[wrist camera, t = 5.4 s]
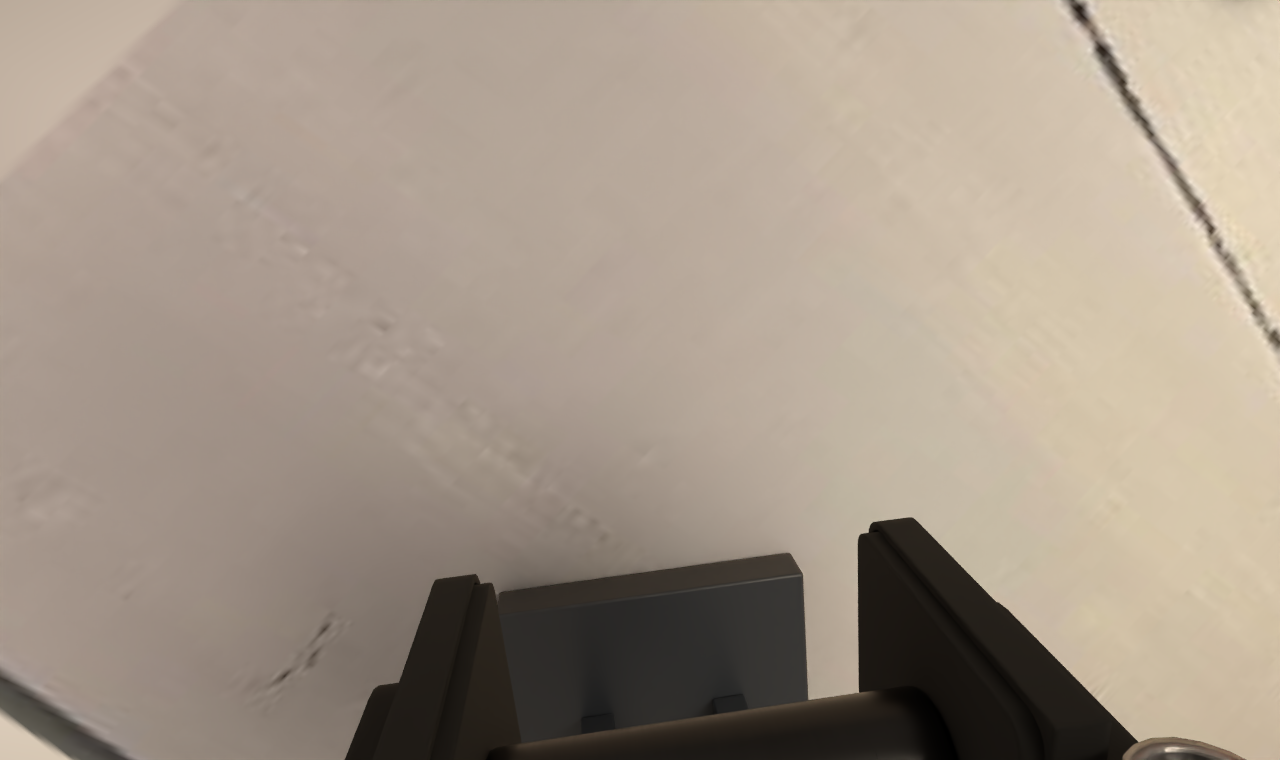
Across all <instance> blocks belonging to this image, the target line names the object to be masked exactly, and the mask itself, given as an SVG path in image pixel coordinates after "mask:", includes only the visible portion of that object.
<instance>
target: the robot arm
mask: <svg viewBox="0 0 1280 760" xmlns="http://www.w3.org/2000/svg"><path fill="white" fill-rule="evenodd" d="M858 642H859V693H861V692H868V691H875V690H881V689H888V688H895V687H901V686H913V687H917V688H919V689H921V690H922V691H923V692H924V693H925V694H926V695H927V696H928V697H929V698H930V700H931V701H932V703H933V704H934V706H935V707H936V709H937V710H938V712H939V714H940V716H941V718H942V720H943V722H944V724H945V726H946V729H947V731H948V733H949V736H950V738H951V741H952V744H953V747H954V750H955V753H956V757H957V760H1246V759H1244V758H1242V757H1240V756H1238V755H1236V754H1234V753H1232V752H1230V751H1227V750H1224V749H1221V748H1218V747H1215V746H1212V745H1210V744H1207V743H1204V742H1200V741H1194V740H1188V739H1182V738H1177V737H1165V738H1150V739H1147V740H1144V741H1141V742H1138V741H1137V740H1136V739H1135V738H1134V737H1133V736H1132V735H1131V734H1130V733H1129V732H1128V731H1127V730H1126V729H1125V728H1124V727H1123V726H1122V725H1121V724H1120V723H1119V722H1118V721H1117V720H1116V719H1115V718H1114V717H1113V716H1112V715H1111V714H1110V713H1109V712H1108V711H1107V710H1106V709H1105V708H1104V707H1103V706H1102V705H1101V704H1100V703H1099V702H1098V701H1097V700H1096V699H1095V698H1094V697H1093V696H1092V695H1091V694H1090V693H1089V692H1088V691H1087V690H1086V689H1085V688H1084V687H1083V686H1082V684H1081V683H1080V682H1079V681H1078V680H1077V679H1076V678H1075V677H1074V676H1073V675H1072V674H1071V673H1070V672H1069V671H1068V670H1067V669H1066V668H1065V667H1064V666H1063V665H1062V664H1061V663H1060V662H1059V661H1058V660H1057V659H1056V658H1055V657H1054V656H1053V655H1052V654H1051V653H1050V652H1049V651H1048V650H1047V649H1046V648H1045V647H1044V646H1043V645H1042V644H1041V643H1040V642H1039V641H1038V640H1037V639H1036V638H1035V637H1034V636H1033V635H1032V634H1031V633H1030V632H1029V631H1028V630H1027V629H1026V628H1025V627H1024V626H1023V625H1022V624H1021V623H1020V622H1019V621H1018V620H1017V619H1016V618H1015V617H1014V616H1013V615H1012V614H1011V613H1010V612H1009V610H1008V609H1006V608H1005V607H1004V606H1002V605H1001V604H1000V603H998V602H996V601H995V600H994V599H993V598H992V597H991V596H990V595H989V594H988V593H987V592H986V591H985V590H984V589H983V588H982V587H981V586H980V585H979V584H978V583H977V582H976V581H975V580H974V579H973V578H972V577H971V576H970V575H969V574H968V573H967V572H966V571H965V570H964V569H963V568H962V567H961V566H960V565H959V564H958V563H957V562H956V561H955V559H954V558H953V557H952V556H951V555H950V554H949V553H948V552H947V551H946V550H945V549H944V548H943V547H942V546H941V545H940V544H939V543H938V542H937V541H936V540H935V539H934V538H933V537H932V536H931V535H930V534H929V533H928V532H927V531H926V530H925V529H924V528H923V527H922V526H921V525H920V524H919V523H918V522H917V521H916V520H915V519H914V518H901V519H894V520H886V521H878V522H873V523H872V524H871V525H870V528H869V533H864V534H861V535H860V536H859V539H858ZM514 744H521V735H520V730H519V724H518V718H517V713H516V707H515V701H514V696H513V690H512V685H511V679H510V673H509V668H508V662H507V656H506V651H505V645H504V640H503V634H502V628H501V623H500V617H499V612H498V606H497V600H496V595H495V590H494V586H493V584H492V583H484V584H480V581H479V578H478V576H477V575H476V574H473V575H465V576H457V577H450V578H442V579H437V580H435V581H434V583H433V586H432V589H431V592H430V595H429V597H428V600H427V603H426V606H425V609H424V612H423V615H422V618H421V621H420V623H419V626H418V629H417V632H416V635H415V638H414V641H413V644H412V647H411V649H410V652H409V655H408V658H407V661H406V664H405V667H404V670H403V673H402V676H401V678H400V681H399V683H394V684H386V685H379V686H378V687H376V688H375V689H374V690H373V692H372V694H371V696H370V697H369V700H368V702H367V705H366V707H365V710H364V712H363V715H362V717H361V720H360V723H359V725H358V728H357V730H356V733H355V735H354V738H353V740H352V743H351V745H350V748H349V751H348V753H347V756H346V758H345V760H487V757H488V755H489V752H490V751H491V750H493V749H494V748H496V747H501V746H507V745H514Z"/></svg>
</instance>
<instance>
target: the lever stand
mask: <svg viewBox="0 0 1280 760" xmlns="http://www.w3.org/2000/svg"><path fill="white" fill-rule="evenodd" d="M497 606H498V612H499V617H500V623H501V628H502V634H503V640H504V645H505V651H506V656H507V662H508V668H509V673H510V679H511V685H512V690H513V696H514V701H515V707H516V713H517V718H518V724H519V730H520V735H521V743H527V742H534V741H541V740H547V739H554V738H561V737H567V736H574V735H581V734H587V733H594V732H601V731H607V730H614V729H621V728H627V727H634V726H641V725H647V724H654V723H661V722H668V721H674V720H681V719H688V718H694V717H701V716H708V715H714V714H721V713H728V712H734V711H741V710H748V709H754V708H761V707H768V706H774V705H781V704H788V703H794V702H801V701H808V683H807V660H806V636H805V613H804V589H803V574H802V572H801V570H800V569H799V567H798V565H797V564H796V562H795V560H794V559H793V557H792V555H791V554H790V553H785V554H778V555H771V556H764V557H756V558H749V559H742V560H734V561H727V562H720V563H712V564H705V565H698V566H690V567H683V568H676V569H668V570H661V571H654V572H647V573H639V574H632V575H625V576H617V577H610V578H603V579H595V580H588V581H581V582H573V583H566V584H559V585H552V586H544V587H537V588H530V589H522V590H515V591H508V592H502V593H500V594H499V599H498V604H497Z"/></svg>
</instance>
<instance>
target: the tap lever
mask: <svg viewBox="0 0 1280 760" xmlns="http://www.w3.org/2000/svg"><path fill="white" fill-rule="evenodd" d="M487 760H957V757H956V753H955V750H954V747H953V744H952V741H951V738H950V736H949V733H948V731H947V729H946V726H945V724H944V722H943V720H942V718H941V716H940V714H939V712H938V710H937V709H936V707H935V706H934V704H933V703H932V701H931V700H930V698H929V697H928V696H927V695H926V694H925V693H924V692H923V691H922V690H921V689H919V688H917V687H913V686H901V687H895V688H888V689H881V690H875V691H868V692H861V693H855V694H848V695H841V696H834V697H828V698H821V699H814V700H808V701H801V702H794V703H788V704H781V705H774V706H768V707H761V708H754V709H748V710H741V711H734V712H728V713H721V714H714V715H708V716H701V717H694V718H688V719H681V720H674V721H668V722H661V723H654V724H647V725H641V726H634V727H627V728H621V729H614V730H607V731H601V732H594V733H587V734H581V735H574V736H567V737H561V738H554V739H547V740H541V741H534V742H527V743H521V744H514V745H507V746H501V747H496V748H494V749H493V750H491V751H490V752H489V755H488V757H487Z"/></svg>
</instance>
